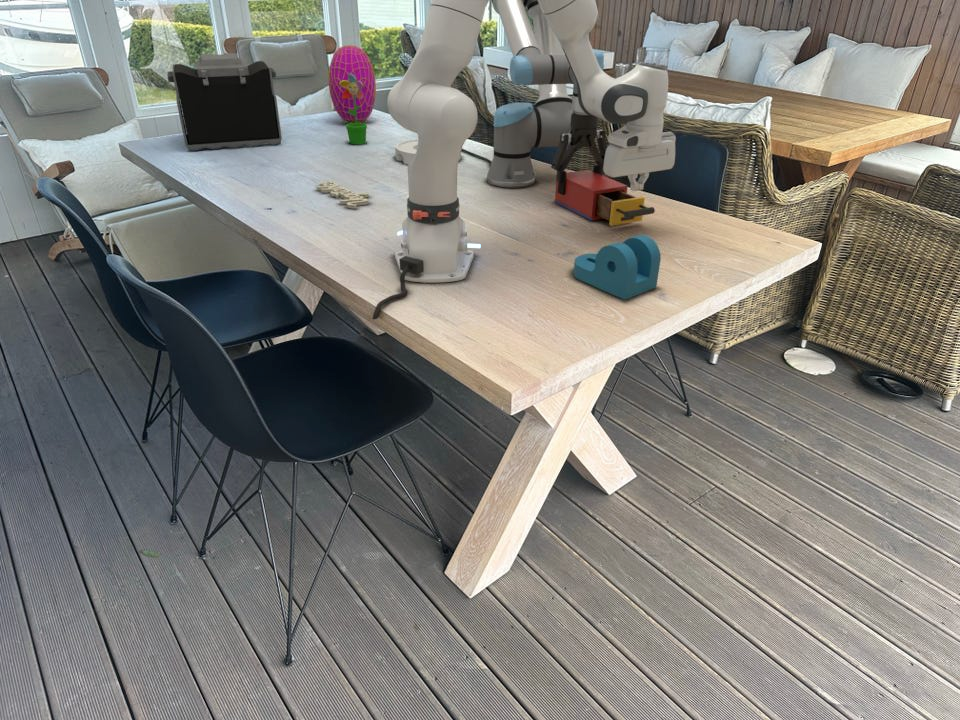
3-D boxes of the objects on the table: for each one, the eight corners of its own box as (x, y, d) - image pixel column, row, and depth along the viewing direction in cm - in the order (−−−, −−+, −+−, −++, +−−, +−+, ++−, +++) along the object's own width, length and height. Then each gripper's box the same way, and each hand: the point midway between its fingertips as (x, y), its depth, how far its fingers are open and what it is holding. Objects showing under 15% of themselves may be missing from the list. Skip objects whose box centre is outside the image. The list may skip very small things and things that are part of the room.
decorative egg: (362, 116, 305) (357, 42, 290) (386, 123, 292) (382, 46, 277) (324, 121, 294) (316, 45, 279) (347, 129, 281) (340, 49, 266)
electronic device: (279, 132, 275) (268, 51, 260) (286, 144, 258) (275, 58, 243) (181, 139, 264) (164, 54, 249) (182, 152, 246) (163, 62, 231)
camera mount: (656, 287, 150) (663, 241, 145) (624, 299, 144) (630, 252, 139) (595, 262, 162) (599, 219, 157) (563, 272, 156) (567, 228, 151)
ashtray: (454, 167, 232) (454, 155, 230) (388, 164, 235) (387, 152, 233) (466, 151, 252) (466, 140, 250) (404, 148, 255) (404, 137, 253)
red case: (624, 215, 192) (627, 185, 188) (591, 220, 187) (594, 190, 183) (586, 197, 206) (588, 169, 202) (554, 202, 202) (556, 174, 197)
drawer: (654, 226, 181) (657, 203, 178) (624, 232, 177) (626, 208, 174) (603, 203, 198) (605, 181, 195) (574, 207, 194) (576, 185, 191)
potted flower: (342, 144, 260) (336, 73, 247) (351, 139, 266) (346, 70, 254) (365, 146, 257) (360, 74, 245) (374, 141, 264) (369, 71, 251)
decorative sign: (381, 199, 198) (351, 206, 193) (382, 203, 199) (351, 209, 193) (339, 178, 216) (309, 184, 211) (339, 182, 216) (310, 187, 211)
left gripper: (667, 128, 176) (660, 181, 183) (602, 135, 168) (597, 191, 175) (684, 133, 171) (676, 188, 178) (618, 141, 163) (612, 198, 170)
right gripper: (611, 106, 196) (604, 182, 207) (541, 113, 186) (537, 192, 197) (628, 111, 190) (619, 189, 201) (556, 118, 181) (551, 199, 192)
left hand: (636, 189), depth 176 cm, fingers closed
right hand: (578, 191), depth 199 cm, fingers closed on red case, 11 cm apart
